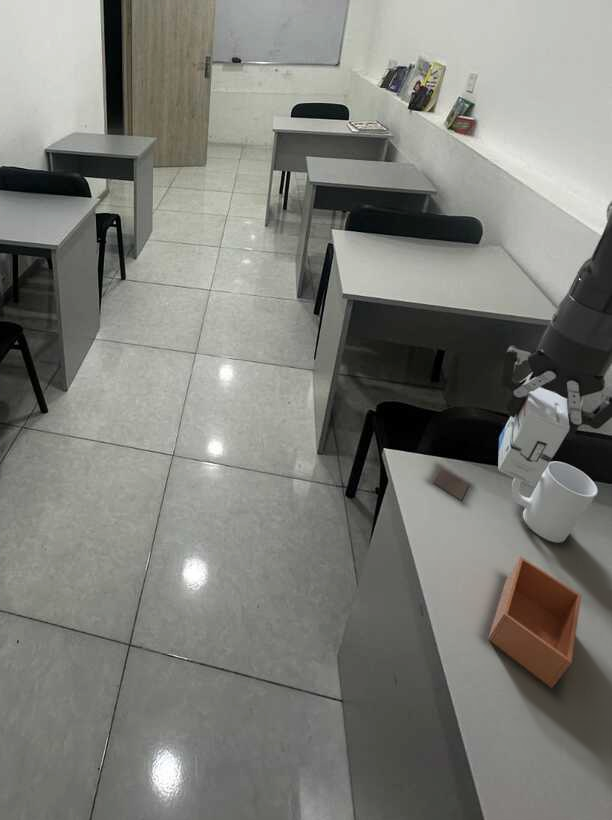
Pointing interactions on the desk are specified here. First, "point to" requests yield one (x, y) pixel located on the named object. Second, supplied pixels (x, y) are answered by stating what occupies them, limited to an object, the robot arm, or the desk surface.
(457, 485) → the pad
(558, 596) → the open box
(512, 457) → the ink box
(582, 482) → the mug
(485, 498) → the desk surface
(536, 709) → the desk surface
